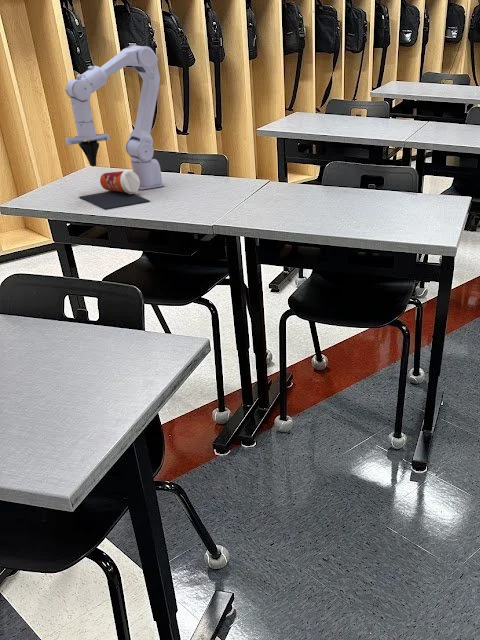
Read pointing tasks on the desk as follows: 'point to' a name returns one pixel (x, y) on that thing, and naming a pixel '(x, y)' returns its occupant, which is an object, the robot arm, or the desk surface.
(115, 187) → the paper cup
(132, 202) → the desk mat
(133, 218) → the desk surface
